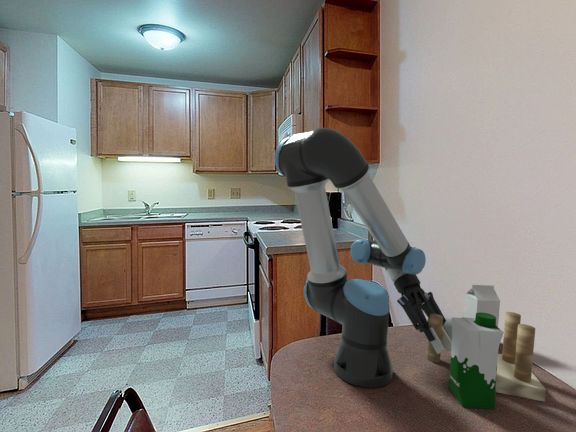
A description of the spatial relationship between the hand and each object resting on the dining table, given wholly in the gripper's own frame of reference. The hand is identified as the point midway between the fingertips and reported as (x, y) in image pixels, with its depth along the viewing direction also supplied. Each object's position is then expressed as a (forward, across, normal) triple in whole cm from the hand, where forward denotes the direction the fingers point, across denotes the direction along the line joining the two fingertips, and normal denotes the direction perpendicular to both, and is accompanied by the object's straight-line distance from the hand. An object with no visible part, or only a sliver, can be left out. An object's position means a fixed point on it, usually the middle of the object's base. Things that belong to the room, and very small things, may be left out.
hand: (446, 350), depth 88 cm
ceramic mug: (-6, -14, -13) cm, 20 cm away
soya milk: (+12, +7, +5) cm, 15 cm away
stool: (+9, -8, +3) cm, 13 cm away
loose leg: (0, 0, -6) cm, 6 cm away
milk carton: (-1, -25, -8) cm, 26 cm away
